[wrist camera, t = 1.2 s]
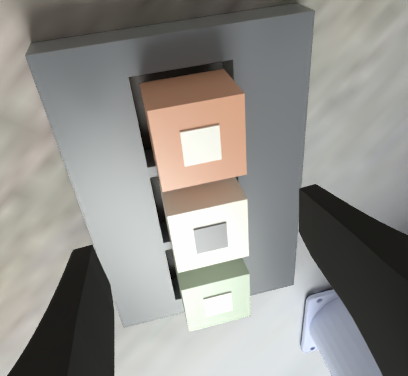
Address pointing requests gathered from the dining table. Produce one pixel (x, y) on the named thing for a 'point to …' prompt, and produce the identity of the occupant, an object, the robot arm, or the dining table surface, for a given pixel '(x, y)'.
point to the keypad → (143, 159)
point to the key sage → (215, 293)
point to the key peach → (196, 128)
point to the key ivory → (207, 223)
